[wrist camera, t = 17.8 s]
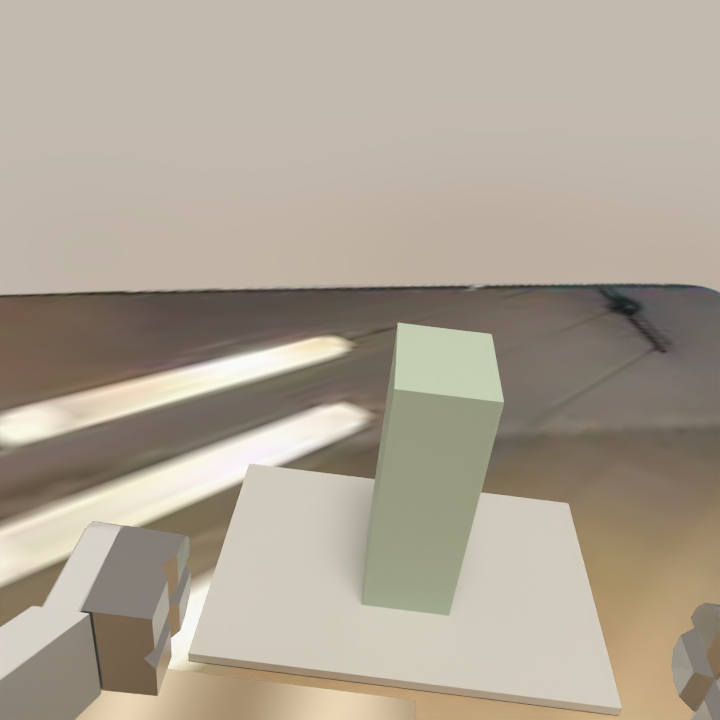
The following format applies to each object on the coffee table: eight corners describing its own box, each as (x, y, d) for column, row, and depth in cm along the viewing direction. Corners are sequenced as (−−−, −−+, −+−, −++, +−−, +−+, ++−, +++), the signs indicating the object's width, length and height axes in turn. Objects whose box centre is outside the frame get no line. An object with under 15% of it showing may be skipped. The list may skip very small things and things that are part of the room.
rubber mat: (188, 660, 29) (188, 653, 28) (249, 470, 39) (249, 463, 39) (618, 715, 28) (622, 708, 28) (565, 510, 39) (568, 503, 38)
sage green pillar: (361, 604, 31) (394, 389, 25) (368, 524, 35) (397, 323, 29) (448, 615, 31) (503, 402, 25) (445, 534, 35) (491, 334, 29)
